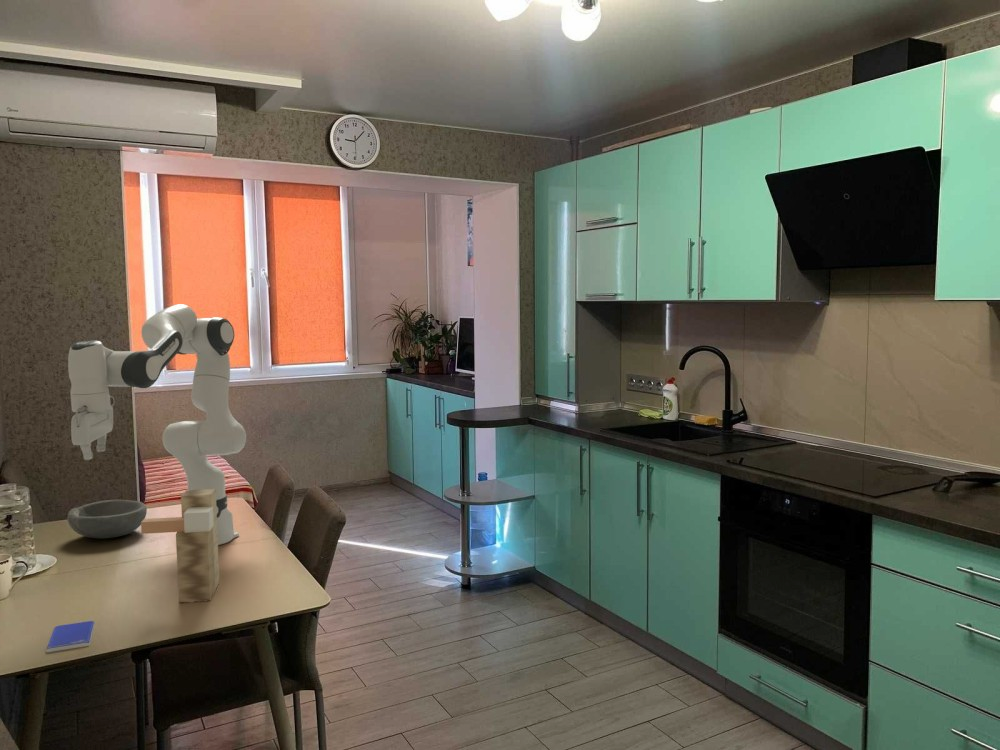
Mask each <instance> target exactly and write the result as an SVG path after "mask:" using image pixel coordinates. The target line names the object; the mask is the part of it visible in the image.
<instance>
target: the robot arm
mask: <svg viewBox="0 0 1000 750" xmlns="http://www.w3.org/2000/svg"><path fill="white" fill-rule="evenodd" d="M141 338H142V341H143V342H144V344H145V345H146V347H147V348H148V349H147V350H136V351H134V350H132V351H131V350H129V351H122V350H121V351H119V350H116V351H115V350H113V349H110V348H108V347H106V346H104V345H103V342H101V341H100V340H96V339H95V340H93V339H92V340H91V339H90V340H83V341H78V342H75V343H74V344H72V345H71V346H70V348H69V351H68V357H67V358H68V359H67V364H68V365H67V367H68V368H67V369H68V370H67V371H68V378H69V380H70V383H71V385H70V386H71V387H70V392H69V394H70V405H71V412H73V413H75V414H73V416H72V417H71V423H70V427H71V428H70V432H71V433H70V436H71V442H72V444H73V446H79V448H80V450H81V451H82V455H83V456H82V457H83V460H84V461H90V460H92V459H93V458H94V453H93V451H92V449H91V448H92V443H93V442H95V441H96V440H97V441H96V443H97V445H96V446H95V447H96V452H97V453H102V452H105V451H106V448H107V447H106V444H107V443H106V442H107V435H108V433H111V432H112V431H113V427H114V408H113V407H114V405H115V397H113V396H111V395H110V389H109V387H115V388H118V387H119V388H121V387H122V388H128V387H129V388H136V389H137V388H138V389H148V388H150V387H152V386H153V385H154V384H155V383H156V382H157V380H158V379H159V377H160V376H161V373H162V372H163V370H164V369H165V367H167V365H169V363H170V362H171V361H172V360H173V359H174V358H175V357H176V356H177V355H189V354H190V355H196V360H197V361H196V363H195V367H194V371H193V379H192V384H191V385H192V388H191V394H190V395H191V397H190V400H191V403H192V404H193V406H194V407H195V408H197V409H199V410H200V411H202V412H205V415H206V419H205V420H184V421H176V422H174V423H170V424H169V425H167V426H166V427H165V429H164V430H163V433H162V445H163V447H164V449H165V450H166V451H167V453H169V454H170V455H172V456H173V457H174V458H175V459H176V460H177V461H178V463H180V465H181V467H182V468H183V470H184V473H185V476H186V483H187V490H207V489H216V509H217V534H218V546H220V545H224V544H226V543H229V542H230V541H232V540H233V539H235V538H237V537H239V536H240V534H239V532H238V531H235V528H234V519H233V518H234V517H233V512H232V511H231V510H229V508H228V497H227V495H226V477H225V473H224V472H223V470H222V469H221V467H219V466H216V465H214V464H213V463H212V462H211V461H210V460H209V459H208V457H207V456H227V455H233V454H238V453H240V452H241V451H242V450H243V449H244V447H245V445H246V442H247V433H246V430H245V428H244V426H243V425H242V424H241V423H240V422H238V421H237V419H235V418H234V416H233V414H232V413H231V411H230V406H229V392H230V391H229V388H230V380H231V379H230V378H231V364H230V363H231V362H230V355H229V352H230V349H231V347H232V345H233V343H234V340H235V330H234V326H233V325H232V324H231V322H230V321H229V320H228V319H227V318H224V317H217V316H216V317H200V318H198V316H197V314H196V312H195V311H194V310H193V308H191V307H190V306H189V305H187V304H182V303H178V304H173V305H171V306H168V307H166V308H163V309H161V310H160V311H157V312H156V313H155V314H153V315H152V316H150V317H149V318H148V319H147V320H146V321H145V322H144V323H143V324H142V327H141Z"/></svg>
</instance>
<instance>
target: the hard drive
mask: <svg viewBox="0 0 1000 750" xmlns="http://www.w3.org/2000/svg"><path fill="white" fill-rule="evenodd" d="M94 627H95V621H94V620H89V621H83V622H82V621H81V622H75V623H68V624H62V625H61V624H60V625H57V626H55V627H54V628H53V630H52V634H51V636H50V638H49V642H48V645H47V647H46V653H53V652H59V651H64V650H71V649H76V648H83V647H89V646H90V644H91V641H92V635H93V632H94Z"/></svg>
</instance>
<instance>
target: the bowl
mask: <svg viewBox="0 0 1000 750" xmlns="http://www.w3.org/2000/svg"><path fill="white" fill-rule="evenodd" d="M147 512H148V510H147V506H146V504H145V503H144V502H142V501H139V500H138V501H137V500H131V499H130V500H129V499H109V500H100V501H95V502H92V503H87V504H83V505H81V506H79V507H74V508H71V509H70V510H69V511H68V514H67V519H66V520H67V522H68V525H69V526H70V528H71V529H72V530H73V531H74V532H75V533H76V534H79V535H80V536H83V537H86V538H87V537H88V538H91V539H110V538H112V539H113V538H118V537H122V536H127V535H128V534H129V535H130V534H131V533H133V532H134V531H136V530H137V529H138V528H139V527H141V522H142V521H143V520H144V519H146V517H147Z"/></svg>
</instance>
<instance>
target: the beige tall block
mask: <svg viewBox="0 0 1000 750" xmlns="http://www.w3.org/2000/svg"><path fill="white" fill-rule="evenodd" d="M180 503H181V504H180V505H181V517H184V513H185V511H186V510H187V509H188V508H195V507H213V519H214V526H213V527H212V529H211V530H210V531H209V532H191V533H185V532H175V544H176V545H175V546H176V564H177V565H176V566H177V570H176V571H177V589H178V604H182V603H181V602H189V603H195V602H194V601H203V602H208V601H207V600H210V599H211V600H212V598H213V597H214V594H215V592H216V590H217V589H218V587H217V586H219V585H220V565H219V564H220V563H219V561H220V560H219V545H218V534H217V509H216V489H207V490H188V489H187V490H185V491H184V492H183V493H182V494H181V495H180ZM218 584H219V585H218ZM216 588H217V589H216ZM205 600H206V601H205ZM211 600H210V601H211Z"/></svg>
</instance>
